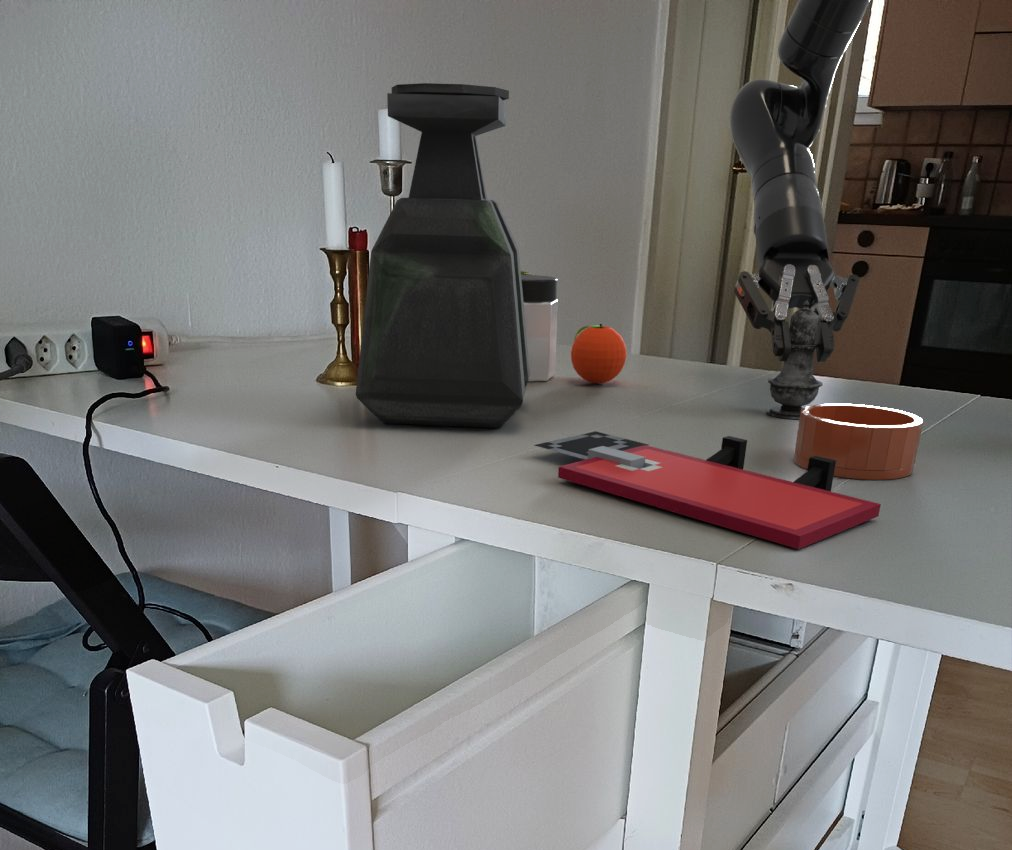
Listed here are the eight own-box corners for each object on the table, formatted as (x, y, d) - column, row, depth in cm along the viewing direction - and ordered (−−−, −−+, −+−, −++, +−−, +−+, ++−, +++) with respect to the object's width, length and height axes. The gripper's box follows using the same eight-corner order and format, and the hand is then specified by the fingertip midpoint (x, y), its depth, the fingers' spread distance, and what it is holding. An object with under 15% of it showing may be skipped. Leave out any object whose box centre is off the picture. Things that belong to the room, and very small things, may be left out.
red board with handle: (607, 438, 98) (495, 464, 88) (609, 408, 96) (495, 432, 87) (900, 512, 79) (797, 555, 69) (908, 476, 77) (803, 516, 68)
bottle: (521, 435, 99) (533, 81, 86) (355, 428, 100) (342, 77, 87) (529, 401, 115) (540, 99, 102) (386, 395, 116) (379, 95, 103)
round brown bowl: (886, 452, 97) (896, 405, 95) (931, 481, 88) (942, 428, 86) (779, 450, 96) (786, 402, 95) (813, 478, 87) (822, 426, 85)
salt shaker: (753, 410, 114) (767, 297, 109) (796, 408, 116) (813, 297, 111) (783, 421, 109) (800, 303, 104) (828, 418, 111) (847, 302, 106)
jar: (474, 375, 130) (475, 275, 125) (517, 369, 136) (520, 273, 131) (526, 385, 125) (529, 281, 120) (568, 378, 130) (573, 278, 125)
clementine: (552, 380, 129) (554, 321, 126) (589, 375, 133) (593, 318, 130) (598, 389, 123) (602, 328, 120) (635, 384, 128) (640, 325, 125)
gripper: (735, 201, 110) (749, 333, 104) (863, 205, 111) (884, 336, 105) (719, 251, 117) (730, 377, 111) (839, 254, 118) (857, 380, 112)
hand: (805, 356), depth 108 cm, fingers closed on salt shaker, 3 cm apart
